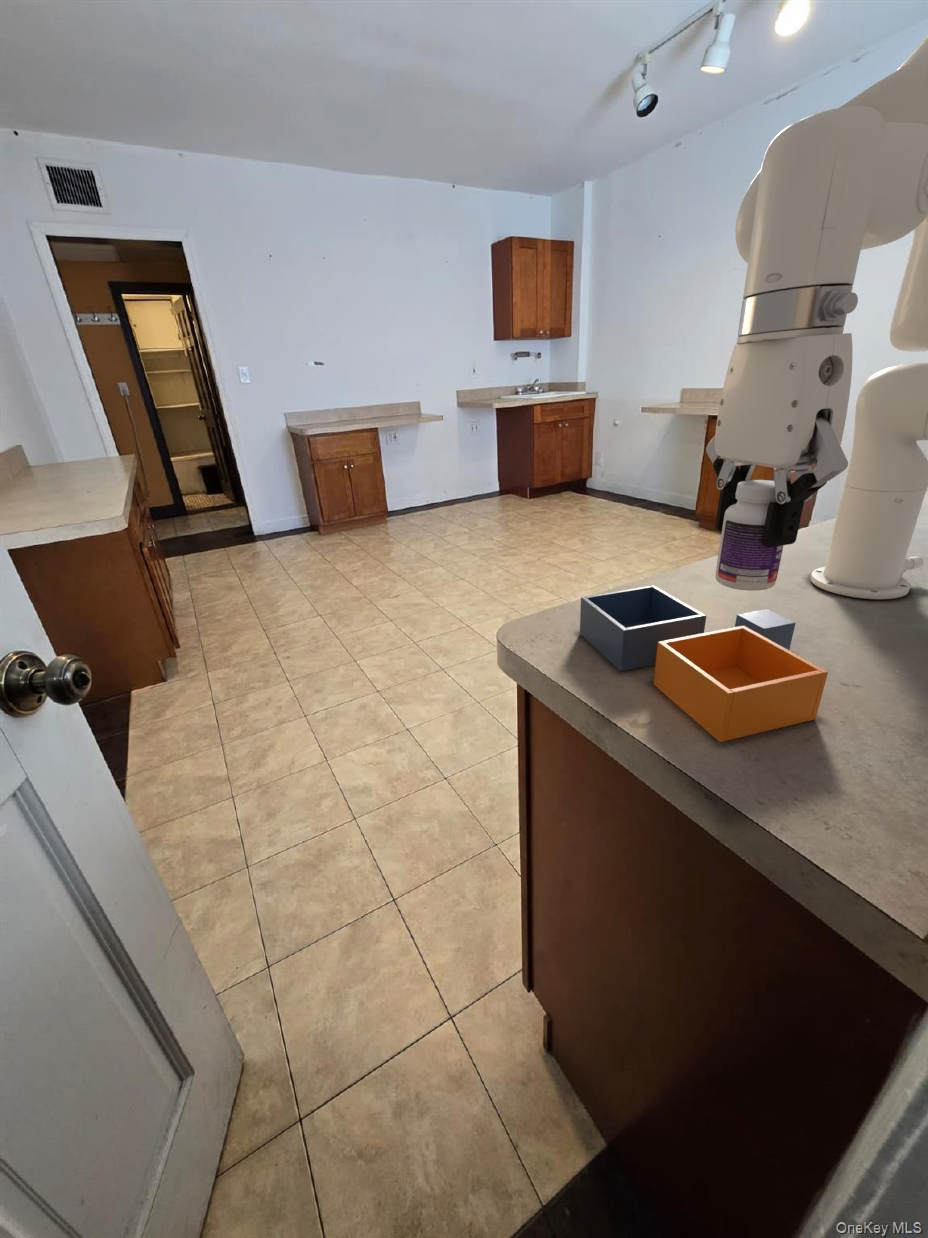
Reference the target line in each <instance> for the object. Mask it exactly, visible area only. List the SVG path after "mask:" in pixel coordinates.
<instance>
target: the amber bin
mask: <svg viewBox="0 0 928 1238" xmlns="http://www.w3.org/2000/svg"><path fill="white" fill-rule="evenodd" d="M654 666H655V667H654V676H653V685H654V687H656V688H657V689H659V691H660V692H662V693H663V694H664V695H665V696H666V697H668V699H670V700H671V701H672V702H673V703H674V704H675V705H676V706H677V707H679V708H680V709H681V710H682V711H683V712H684V713H685V714H687V715H688V716H689V717H690V718H691V719H692V720H693V721H695V722H696V723H697V724H698V725H700V726H701V727H702V728H703V729H704V730H705V731H706V732H707V733H708V734H709V735H711V736H712V737H713V738H714V739H715V740H716V741H718V742H719V743H723V742H727V741H731V740H735V739H736V740H737V739H739V738H740V739H741V738H743V737H748V736H752V735H756V734H760V733H763V732H764V733H765V732H769V731H773V730H776V729H781V728H785V727H789V726H793V725H798V724H802V723H806V722H811V721H814V720H816V719H817V716H818V711H819V709H820V704H821V700H822V696H823V693H824V689H825V686H826V682H827V678H828V675H829V671H828V670H826V669H824V668H822V667H820V666H818V665H817V664H814V663H813V662H811V661H809V660H808V659H806V658H804V657H802V656H800V655H799V654H797V653H794V652H793V651H791V650H787V649H786V648H784V647H782V646H780V645H778V644H776V643H775V642H773V641H771V640H769V639H767V638H765V637H764V636H762V635H760V634H758V633H756V632H755V631H753V630H751V629H749V628H747V627H745V626H738V627H735V626H734V627H729V628H723V629H718V630H713V631H707V632H704V633H702V634H696V635H691V636H686V637H681V638H675V639H670V640H665V641H660V642H658V647H657V656H656V665H654Z"/></svg>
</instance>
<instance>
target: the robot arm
mask: <svg viewBox="0 0 928 1238" xmlns="http://www.w3.org/2000/svg"><path fill="white" fill-rule="evenodd" d="M911 232H913V238H912V242H911V246H910V250H909V254H908V258H907V261H906V265H905V269H904V273H903V276H902V279H901V284H900V287H899V291H898V295H897V298H896V302H895V307H894V310H893V314H892V319H891V322H890V329H889V341H890V344H891V346H893V348H894V349H896V350H898V351H902V352H910V353H912V352H913V353H914V352H915V353H919V352H928V35H927V36H926V37H925V38H924V39H923V40H922V41H921V42H920V44H919V45H918V46H917V47H916V48H915V49H914V50H913V52H912V53H911V54H910V55H909V56H908V57H907V58H906V59H905V61H903V63H902V64H901V65H900V66H899V67H898V68H896V70H895V71H893V72H892V73H891V74H889V75H888V76H885V77H883V78H882V79H880V80H878V81H877V82H876V83H874V84H873V85H871V86H869V87H868V88H866V89H865V90H863V91H862V92H860V93H859V94H857V95H856V96H854V97H852V98H851V99H850V100H848V101H847V102H845V103H844V104H842V105H841V106H839V107H836V108H831V109H827V110H824V111H821V112H817V113H815V114H812V115H808V116H806V117H804V118H802V119H800V120H798V121H796V122H794V123H792V124H790V125H789V126H787V127H785V128H784V129H782V130H781V131H780V132H779V133H778V134H777V135H776V136H775V137H774V138H773V139H772V140H771V141H770V144H768V147H767V149H766V151H765V153H764V155H763V159H762V161H761V168H760V170H759V171H758V172H757V174H756V175H755V177H754V178H753V180H751V182H750V184H749V186H748V188H747V190H746V191H745V193H744V196H743V198H742V201H741V203H740V206H739V208H738V213H737V216H736V222H735V243H736V248H737V251H738V253H739V255H740V257H741V258H742V259H743V261H744V262H745V263H746V264H747V266H746V267H747V268H746V275H745V281H744V287H743V288H744V289H743V295H742V299H743V300H742V302H741V310H740V317H739V323H738V331H737V338H736V344H734V346H733V350H732V354H731V356H730V360H729V363H728V367H727V371H726V374H725V378H724V383H723V387H722V392H721V396H720V400H719V401H720V402H719V407H718V411H717V418H716V419H717V420H716V426H715V433H714V435H713V437H712V438H711V440H710V441H709V442H708V444H707V445H706V447H705V452H706V454H707V456H708V458H709V459H710V462H711V463H712V468H713V471H714V473H715V476H716V477H717V479H716V484H715V485H716V488H717V489H718V490H719V497H718V503H717V511H716V518H715V524H714V528H715V530H716V531H719V532H722V527H723V520H724V515H725V511H726V510H727V508H728V507H730V506H731V505H734V504H737V501H738V500H737V499H736V495H735V494H736V490H737V485H738V483H739V482H742V481H748V480H751V478H752V476H753V473H754V470H755V468H756V466H762V467H767V468H773V481H774V483H775V497H776V502H769V505H768V509H767V514H766V520H765V525H764V531H763V536H762V545H763V546H765V547H776V546H782V545H784V546H789V545H793V544H794V543H796V541H797V537H798V532H799V530H800V529H799V528H800V523H801V520H802V519H801V518H802V514H803V511H804V510H803V509H804V505H805V502H808V501H811V500H812V499H813V497H814V494H815V493H817V492H818V491H819V490H820V489H822V488H823V487H824V486H825V485H826V484H827V483H828V482H829V481H831V480H833V479H834V478H836V477H837V476H839V475H840V474H841V473H843V472H845V470H846V469H847V468H848V469H847V474H846V477H845V483H844V485H843V490H842V493H841V499H840V501H839V502H840V503H839V507H838V510H837V515H836V519H835V523H834V528H833V530H832V531H833V532H832V536H831V540H830V544H829V548H828V551H827V556H826V561H825V565H824V566H821V567H818V568H816V569H814V570H812V572H811V574H810V581H811V582H812V584H813V585H815V586H816V587H818V588H820V589H822V590H824V591H826V592H830V593H833V594H836V595H841V596H845V597H848V598H849V597H851V598H855V599H856V598H857V599H863V600H864V599H865V600H894V599H898V598H902V597H904V596H906V595H908V594H909V592H910V589H911V583H910V582H909V581H908V580H907V579H906V578H904V577H903V576H904V573H906V572H907V571H911V570H916V569H919V568H922V566H924V560H923V558H922V556H918V555H916V556H909V557H907V554H908V550H909V548H910V545H911V541H912V539H913V535H914V532H915V529H916V524H917V522H918V518H919V515H920V513H921V508H922V506H923V502H924V499H925V496H926V494H927V493H926V492H927V489H928V459H927V456H926V455H925V454H924V451H923V450H922V449H921V447H920V446H919V444H918V443H917V441H928V362H914V363H906V364H898V365H894V366H889V367H886V368H884V369H882V370H879V371H877V372H875V373H873V374H872V375H871V376H870V377H869V378H868V379H866V380H865V381H864V383H863V385H862V386H861V388H860V390H859V392H858V394H857V399H856V403H855V411H854V412H855V413H854V414H855V416H854V430H853V442H852V448H851V454H850V460H849V462H848V459H847V456H846V455H845V452H844V451H843V448H842V447H841V446H842V441H843V435H844V433H845V426H846V420H847V415H848V414H847V413H848V408H849V402H850V395H851V384H852V374H853V337H852V336H853V335H852V333H851V332H847V333H844V330H845V324H846V320H847V315H849V314H851V313H853V312H854V311H855V309H856V308H857V306H858V303H859V297H858V295H857V293H856V292H853V288H854V286H853V285H854V283H855V278H856V273H857V269H858V264H859V260H860V255H861V251H863V250H868V249H873V248H878V247H881V246H884V245H888V244H891V243H893V242H896V241H899V240H900V239H902V238H904V237H905V236H908V235H909V234H910V233H911ZM813 465H814V467H813ZM791 473H795V480H794V481H793V482H792V476H791Z"/></svg>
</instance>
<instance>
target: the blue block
mask: <svg viewBox="0 0 928 1238" xmlns="http://www.w3.org/2000/svg"><path fill="white" fill-rule="evenodd" d="M738 626H745V627H747V628H749V629H751V630H753V631H755V632H756V633H758V634H760V635H762V636H764V637H765V638H767V639H769V640H771V641H773V642H775V643H776V644H778V645H780V646H782V647H784V648H786V649H787V650H789V651H791V650H790V649H791V645H792V640H793V636H794V632H795V629H796V621H793V620H791V619H789V618H787V617H785V616H782V615H780V614H778V613H777V612H774V611H772V610H770V609H769V608H765V609H760V610H753V611H748V612H741V613H738V614H736V617H735V624H734V627H738Z"/></svg>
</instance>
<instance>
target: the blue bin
mask: <svg viewBox="0 0 928 1238" xmlns="http://www.w3.org/2000/svg"><path fill="white" fill-rule="evenodd" d="M579 614H580V615H579V634H580V636H581V637H583V638H584V639H585V640H586V641H587V642H588V643H589V644H590V645H591V646H593V647H594V649H596V650H597V651H598V652H599V653H600V654H601V655H602V656H603V657H604V658H606V659H607V660H608V661H609V662H610V663H611V664H612V665H613V666H614V667H615V668H616V669H618V671H619V672H625V671H631V670H635V669H641V668H646V667H650V666H656V656H657V647H658V642H660V641H665V640H670V639H675V638H681V637H686V636H691V635H696V634H702V633H705V629H706V622H707V615H706V614H704V613H703V612H701V611H699V610H698V609H696V608H694V607H692V606H690V605H689V604H688V603H686V602H684V601H682V600H680V599H679V598H677V597H675V596H673V595H671V594H670V593H668V592H666V591H664V590H662V589H661V588H659V587H658V586H656V585H653V584H652V585H648V586H641V587H635V588H628V589H623V590H617V591H610V592H605V593H598V594H592V595H586V596H580V613H579Z"/></svg>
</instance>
